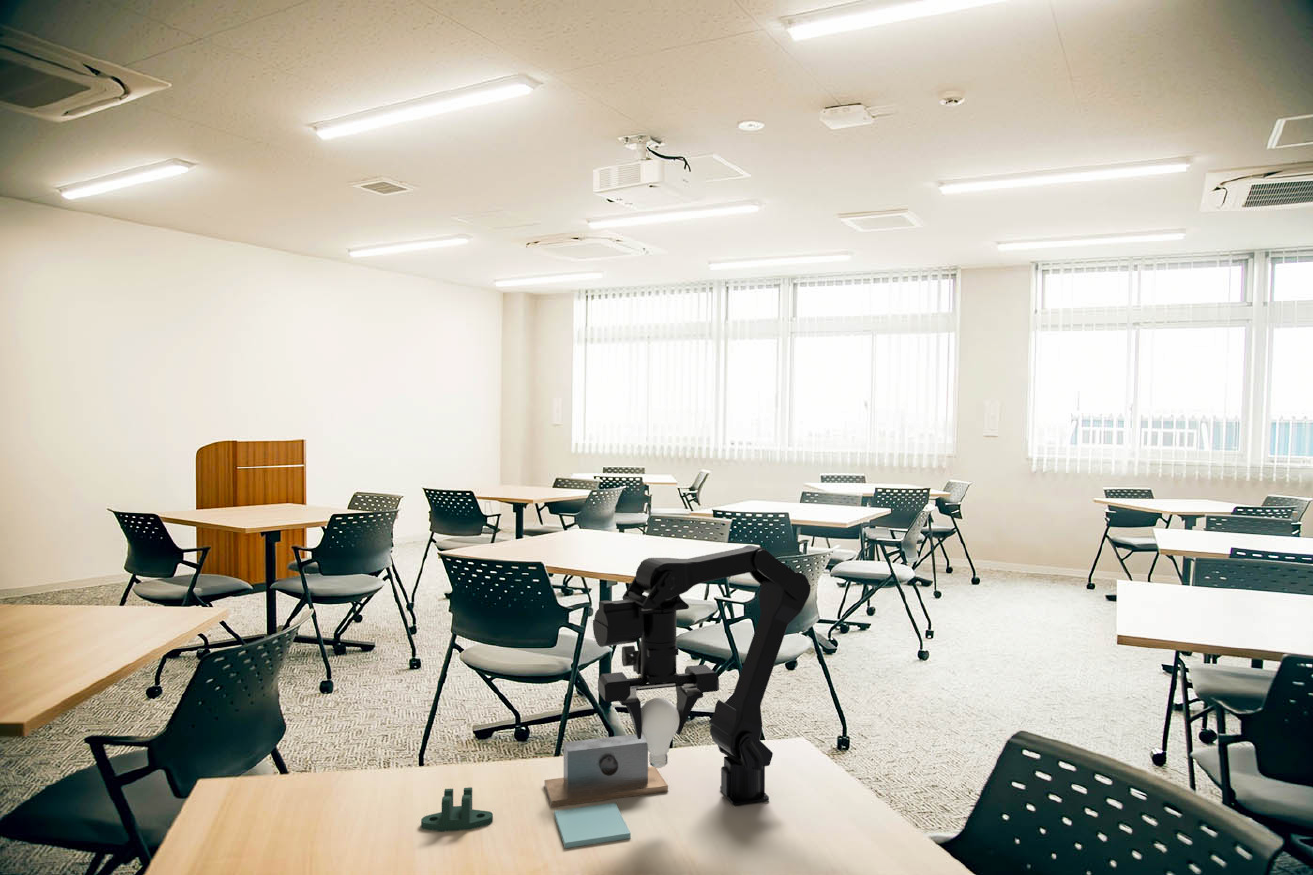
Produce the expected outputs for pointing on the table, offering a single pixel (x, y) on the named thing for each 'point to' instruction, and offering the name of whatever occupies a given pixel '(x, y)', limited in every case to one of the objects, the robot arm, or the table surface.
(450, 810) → the mount
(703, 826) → the table surface
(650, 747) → the light bulb
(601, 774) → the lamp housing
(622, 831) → the pad
